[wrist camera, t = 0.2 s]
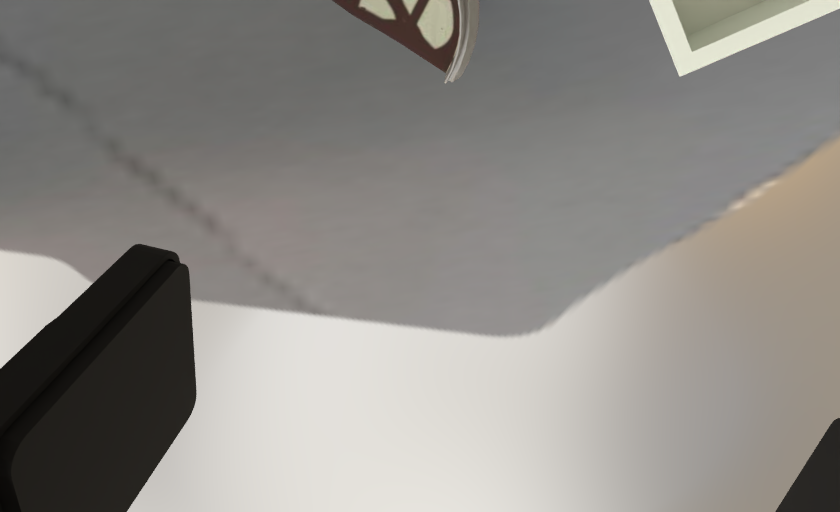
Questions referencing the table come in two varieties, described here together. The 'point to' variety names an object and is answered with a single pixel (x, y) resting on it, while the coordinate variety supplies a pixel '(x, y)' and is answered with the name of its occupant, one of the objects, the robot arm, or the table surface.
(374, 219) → the table surface
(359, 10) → the food container
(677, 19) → the tray
